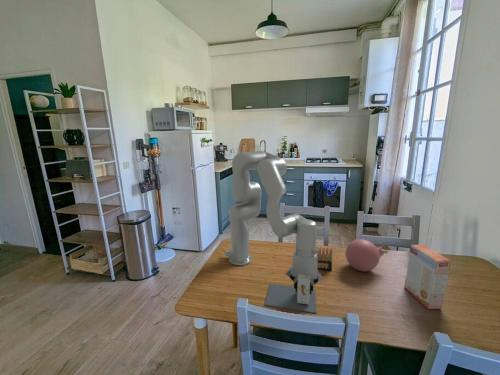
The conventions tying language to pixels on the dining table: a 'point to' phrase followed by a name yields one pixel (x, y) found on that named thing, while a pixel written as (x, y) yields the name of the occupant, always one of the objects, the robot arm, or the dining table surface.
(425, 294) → the cracker box
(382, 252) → the pink balloon
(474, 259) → the dining table surface
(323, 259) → the ammunition clip
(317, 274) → the robot arm
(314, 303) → the mat
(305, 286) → the ink box
